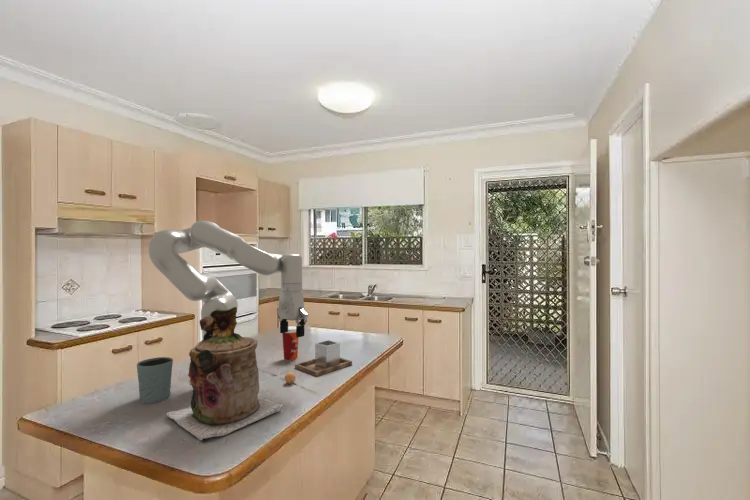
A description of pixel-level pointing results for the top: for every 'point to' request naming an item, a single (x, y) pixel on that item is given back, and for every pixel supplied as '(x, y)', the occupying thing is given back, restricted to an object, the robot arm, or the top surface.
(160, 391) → the teal cup
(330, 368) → the walnut tray
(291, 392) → the top surface
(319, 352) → the square metal container
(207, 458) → the top surface
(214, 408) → the cookie jar
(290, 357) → the paper cup
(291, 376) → the mixing ball
